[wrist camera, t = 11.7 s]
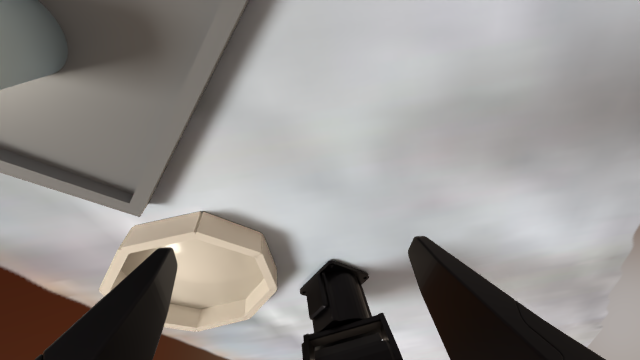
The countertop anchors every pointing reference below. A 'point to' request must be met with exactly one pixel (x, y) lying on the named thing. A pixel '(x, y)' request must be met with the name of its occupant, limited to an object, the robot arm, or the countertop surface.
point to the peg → (29, 42)
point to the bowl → (203, 268)
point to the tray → (114, 96)
